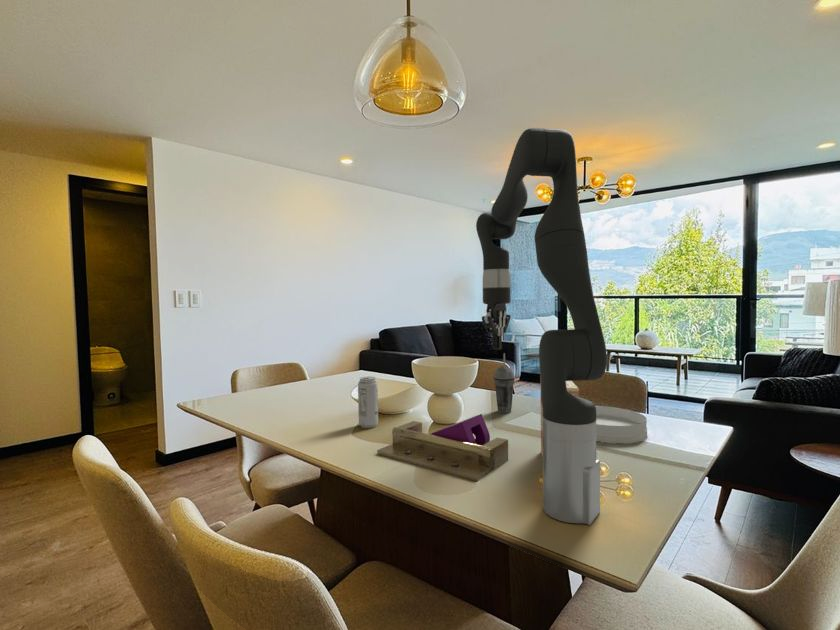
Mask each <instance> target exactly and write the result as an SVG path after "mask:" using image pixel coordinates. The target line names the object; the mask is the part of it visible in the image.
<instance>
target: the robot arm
mask: <svg viewBox="0 0 840 630" xmlns="http://www.w3.org/2000/svg"><path fill="white" fill-rule="evenodd" d="M577 173H578V172H577V158H576V146H575V141H574V138H573V135H572V134H571V132H569V131H568V130H565V129H560V128H559V129H558V128H557V129H556V128H543V127H542V128H541V127H532V128H527V129H525V130H524V131H523V132H522V133H521V135H520V136H519V138H518V140H517V141H516V144H515V146H514V149H513V153H512V156H511V160H510V163H509V165H508V168H507V172H506V176H505V178H504V181H503V185H502V188H501V190H500V191H499V193H498V195H497V197H496V199H495V201H494V202H493V204H492V208H491V211H490V212H483V213H480V215H479V216H478V218H477V219H476V224H475V229H476V232H477V237H478V239H479V243H480V247H481V252H482V258H483V259H482V261H483V262H482V263H483V265H482V266H483V269H482V270H483V272H482V304H484V305H487V306H486V310H485V311H486V314H485V315H483V316H482V317H481V320H482V323H483V326H484V329H485V331H486V332H487V334H488V335H490V336H491V349H492V350H493V351H495V350H496V351H498V350H502V349H503V343H502V341H503V340H502V339H503V337H502V336H504V334H505V333H507V331H508V327H509V324H510V320H511V314H507V306H506V305H508V304H510V303H511V275H510V274H511V273H510V252H509V250H508V249H507V248H506V247H501V246H497V245H496V244H495V243H494V242H493V240H507V239H510V238H511V237H513V236H514V234H515V231H516V228H517V227H516V226H517V220H518V218H519V216H520V215H521V213H522V212H523V210H524V209H525V208H526V205H527V203H528V197H529V196H528V191H527V190H528V189H527V187H526V184H525V182H524V179H525V177H526V176H531V177H549V178H551V180H552V185H553V193H552V197H551V200H550V201H549V204H548V206H547V208H545V211H544V212H543V215H542V216H541V218H540V219H539V221H538V224H537V225H536V229H535V230H534V231H535V232H534V245H535V247H534V248H535V254H536V261H537V266H538V268H539V270H540V273H541V275H542V276H543V277H544V279H545V280H546V281H547V283H548V284H549V285H550V286H551V287H552V289H553V290H554V291H555V292H556V293H557V295H558V296H559V297H560V299H561V300H562V301H563V302H564V304H565V306H566V307H567V309H568V312H569V314H570V317H571V320H572V323H573V329H550V330H546V331H545V332H544V333H543V334H542V336H541V338H540V342H539V344H538V345H539V347H538V357H539V359H538V360H539V361H538V363H539V374H540V375H539V379H541V399H542V408H543V458H542V502H543V503H542V508H543V511H544V513H545V514H546V515H548V517H550V518H552V519H555V520H557V521H560V522H564V523H570V524H586V525H589V526H590V525H592V524H593V522H594V521H595V519H596V518H597V516H598V515H599V514H600V512H601V461H600V459H597V442H596V406H597V405H595V404H594V402H592V401H591V400H588V399H586V398H582V397H580V396H579V397H577V396H574V395H572V394H570V393H569V392H568V391H567V387H566V381H572V382H574V381H577V382H578V381H595V380H599V379H601V378H602V377H603V376H604V374H605V372H606V370H607V363H608V356H607V355H608V354H607V346H606V341H605V337H604V334H603V328H602V325H601V321H600V317H599V314H598V308H597V305H596V301H595V297H594V292H593V286H592V281H591V274H590V273H591V272H590V267H589V261H588V260H589V259H588V250H587V243H586V236H585V232H584V231H585V230H584V227H583V221H582V215H581V209H580V207H581V206H580V201H579V200H580V199H579V191H578V177H577V176H578V175H577Z"/></svg>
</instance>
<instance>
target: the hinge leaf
mask: <svg viewBox="0 0 840 630" xmlns="http://www.w3.org/2000/svg"><path fill="white" fill-rule="evenodd" d="M391 434H392V443H391V444H389V445H387V446H384V447H382V448H379V449H377V450H376V454H377V455H379V456H383V457H387V458H390V459H395V460H397V461H398V460H399V461H402V462H406V463H408V462H409V464H413V465H416V464H417V465H416V466H419V465H420V467H423V466H424V468H426V469H430V470H435V471H439V472H442V473H445V474H450V475H453V476H456V477H460V478H464V479H467V480H471V481H475V482H478V481H479V480H481V479H482V478H484V477H486V476H487V475H488V474H490V473H491V472H492V471H494V470H496V469H498V468H499V467H500V466H502V465H504V464H505V463H506V462H508V461H509V439H506V438H502V437H495V438H494V439H491V440H490V441H489V442H488V443H486V444H484V445H477V444H472V443H468V442H463V441H458V440H454V439H449V438H445V437H440V436H435V435H431V433H425V432H423V422H420V421H415V420H412V421H409V422H407V423H405V424H401V425H400V426H394V427H393V428H392V430H391Z"/></svg>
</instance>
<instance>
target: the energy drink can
mask: <svg viewBox="0 0 840 630" xmlns="http://www.w3.org/2000/svg"><path fill="white" fill-rule="evenodd" d="M378 387H379V385H378V381H377V380H376V376H362V377H359V381H358V383H357V393H358V394H357V399H358V401H357V402H358V404H357V405H358V406H357V408H358V425H360V427H361V428H363V429H371V428H376V427H377V424H379V400H378V397H379V395H378Z"/></svg>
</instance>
